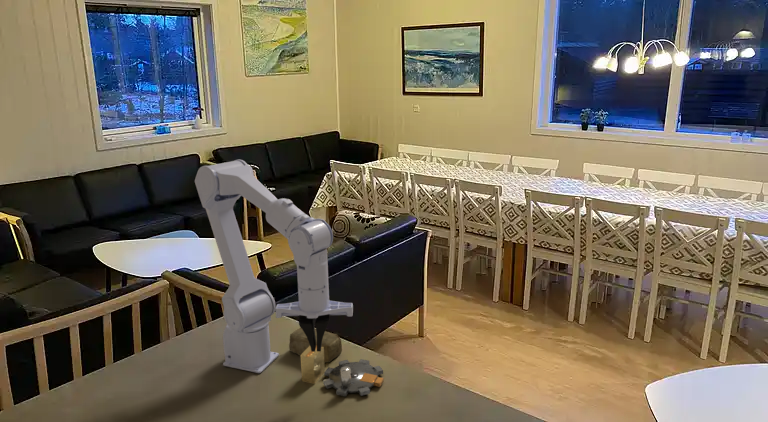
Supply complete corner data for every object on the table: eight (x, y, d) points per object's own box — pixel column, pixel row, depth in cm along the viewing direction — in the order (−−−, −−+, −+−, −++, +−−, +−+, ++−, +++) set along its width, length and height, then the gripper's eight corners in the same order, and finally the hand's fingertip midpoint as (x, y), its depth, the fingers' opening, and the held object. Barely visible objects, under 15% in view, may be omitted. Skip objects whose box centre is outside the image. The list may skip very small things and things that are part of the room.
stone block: (329, 366, 118) (328, 345, 116) (287, 353, 123) (285, 333, 122) (343, 353, 123) (343, 333, 121) (302, 342, 128) (301, 323, 127)
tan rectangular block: (301, 381, 112) (300, 355, 110) (312, 369, 116) (310, 344, 114) (314, 384, 111) (313, 357, 109) (324, 372, 115) (323, 346, 113)
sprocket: (312, 389, 108) (311, 369, 107) (339, 358, 120) (338, 340, 118) (370, 401, 104) (370, 381, 103) (392, 368, 115) (392, 349, 114)
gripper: (270, 293, 98) (275, 360, 102) (350, 292, 99) (352, 359, 102) (277, 278, 105) (281, 341, 109) (352, 277, 105) (354, 340, 109)
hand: (316, 348), depth 106 cm, fingers closed
